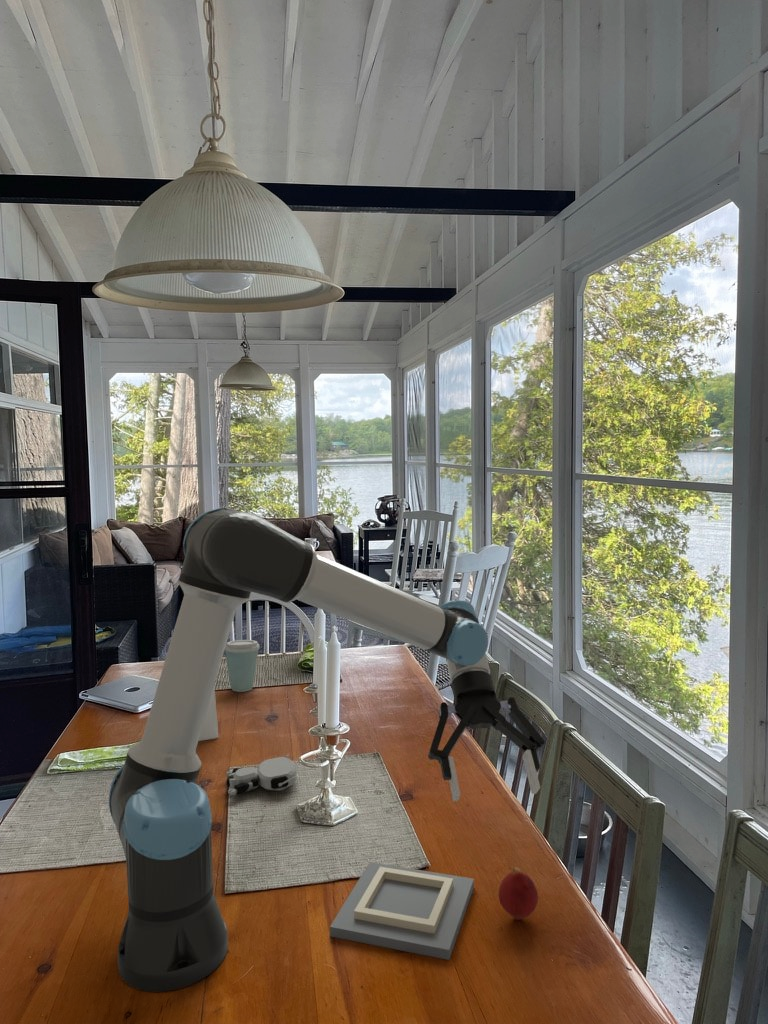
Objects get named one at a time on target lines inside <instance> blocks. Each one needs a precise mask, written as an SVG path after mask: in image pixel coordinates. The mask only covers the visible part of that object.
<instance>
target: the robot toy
mask: <svg viewBox="0 0 768 1024" xmlns="http://www.w3.org/2000/svg"><path fill="white" fill-rule="evenodd" d="M290 756H291V754H286V755H284V756H278V757H274V758H268V759H265V760H263V761H262V762H261V763H259V765H258V767H257V768H256V767H255V766H249V767H234V768H233V769H228V770H227V771H226V772H225V775H226V776H227V777H228V778H227V779H226V782H225V784H226V786H227V787H228V788H229V789H228V791H227V793H228V794H229V795H230V796H234V795H237V796H239V795H241V794H244V793H247V792H246V791H248V792H249V791H251V790H252V791H253V790H256V789H257V788H258V787H259V786H261V787H262V788H264V789H265V790H268V791H277V792H280V791H284V790H285V789H286V788H289V787H291V786H292V785H293V784H294V783H295V781H296V779H297V778H298V776H297V765H296V763H295V762H294V761H293V760H291V759H290V758H289V757H290Z"/></svg>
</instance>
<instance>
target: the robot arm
mask: <svg viewBox="0 0 768 1024" xmlns="http://www.w3.org/2000/svg"><path fill="white" fill-rule="evenodd" d="M182 544H183V545H182V546H183V554H184V559H183V563H182V567H181V570H180V574H179V577H178V580H177V582H178V584H179V587H180V588H181V590H182V593H183V597H182V598H183V599H182V601H181V605H180V609H179V611H178V615H177V617H176V622H175V625H174V629H173V632H172V634H171V639H170V642H169V645H168V649H167V652H166V656H165V659H164V663H163V666H162V668H161V669H162V670H161V673H160V675H159V679H158V684H157V686H156V691H155V693H154V697H153V700H152V704H151V708H150V711H149V714H148V717H147V721H146V723H145V727H144V731H143V735H142V738H141V740H140V741H138V742H137V743H134V744H132V745H131V746H130V747H129V748H128V751H127V754H126V756H125V761H124V764H122V766H121V767H120V768H118V771H116V773H115V774H114V777H113V779H112V780H111V784H110V789H109V795H108V806H109V807H108V808H109V812H110V815H111V819H112V821H113V822H114V823H113V824H114V825H115V829H116V830H117V833H118V836H119V840H120V843H121V846H122V850H123V852H124V857H125V862H126V863H125V864H126V877H127V878H126V879H127V897H128V898H127V899H128V900H127V901H128V912H127V915H126V918H125V922H124V926H123V928H122V929H123V930H122V934H121V936H120V940H119V943H118V947H117V970H118V973H119V975H120V978H121V979H122V981H123V982H125V984H127V985H129V986H130V987H132V988H135V989H137V990H140V991H144V992H169V991H174V990H177V989H178V990H179V989H182V988H185V987H188V986H191V985H192V984H195V983H197V982H200V981H201V980H203V979H204V978H206V977H208V976H209V975H210V974H211V973H213V972H214V971H215V970H217V968H218V967H219V966H220V965H221V964H222V962H223V960H224V959H225V957H226V955H227V952H228V948H229V942H228V941H229V939H228V938H229V936H228V927H227V923H226V922H225V919H224V918H223V916H222V913H221V910H220V908H219V904H218V902H217V900H216V897H215V894H214V870H213V867H214V865H213V844H212V843H213V841H212V824H213V813H212V808H211V805H210V800H209V796H208V795H207V792H206V790H204V789H203V788H202V787H201V786H200V785H198V784H197V781H198V778H199V775H200V772H201V768H202V761H201V759H200V758H199V755H198V754H197V751H196V750H197V747H198V744H199V741H198V740H199V737H200V733H201V730H202V726H203V723H204V719H205V716H206V713H207V709H208V706H209V702H210V699H211V695H212V692H213V688H214V687H215V684H216V681H217V678H218V674H219V671H220V667H221V663H222V661H223V657H224V653H225V647H226V644H227V643H228V638H229V635H230V632H231V628H232V625H233V622H234V618H235V615H236V611H237V608H238V607H240V606H241V605H243V604H244V603H246V602H248V601H249V600H250V596H251V593H255V594H259V595H262V596H267V597H270V598H273V599H274V600H275V599H276V600H279V601H281V602H283V603H287V604H289V603H293V602H294V601H296V600H298V601H299V602H302V603H304V604H306V605H310V606H312V607H315V608H317V609H320V610H322V611H324V612H327V613H329V614H332V615H335V616H338V617H341V618H343V619H345V620H348V621H351V622H353V623H355V624H358V625H360V626H363V627H365V628H369V629H371V630H373V631H376V632H378V633H381V634H384V635H386V636H387V637H388V638H389V639H391V640H395V641H398V642H400V643H403V644H404V643H406V644H409V645H411V646H414V647H417V648H418V649H422V650H424V651H426V652H428V653H431V654H433V655H436V656H439V657H441V658H443V659H445V660H446V665H447V670H448V675H449V680H450V682H451V683H450V685H451V689H452V694H453V699H454V704H448V702H444V701H443V702H441V704H440V705H439V709H438V723H437V727H436V729H435V732H434V736H433V738H432V742H431V745H430V747H429V752H428V755H427V758H428V759H429V760H431V761H432V760H436V761H437V762H438V764H439V765H440V768H441V774H442V779H443V781H449V787H450V792H451V797H452V802H458V801H459V799H460V797H461V791H460V787H459V779H458V775H457V771H456V764H455V760H454V756H450V754H451V753H452V751H453V750H454V748H455V746H456V745H457V743H458V741H459V740H460V738H461V736H462V735H463V734H464V732H465V731H466V729H467V728H470V729H471V730H477V729H489V728H493V729H495V730H496V731H498V732H500V733H501V734H502V735H504V736H505V737H506V738H507V739H509V741H510V742H512V743H513V744H514V745H516V746H517V747H518V748H519V749H521V750H522V751H523V752H524V753H523V755H522V759H523V764H524V767H525V771H526V775H527V779H528V783H529V788H530V791H531V794H532V795H535V794H537V793H538V791H540V789H541V784H540V781H539V777H538V772H539V770H540V769H541V768H540V767H541V765H540V760H539V757H538V753H537V751H541V749H542V747H543V746H544V744H545V739H544V738H543V737H542V736H541V734H540V733H539V732H538V731H537V730H536V728H535V727H534V726H533V724H532V722H531V723H530V721H529V720H528V719H527V717H526V716H525V714H524V713H523V712H522V711H521V710H520V709H519V707H518V704H517V701H516V699H515V698H514V697H512V696H510V697H509V698H508V699H507V700H501V701H499V699H498V698H497V694H496V690H495V689H496V688H495V686H494V682H493V677H492V675H491V670H490V669H491V668H490V665H489V661H488V657H487V654H486V652H487V651H488V650H487V649H488V646H489V636H488V633H487V631H486V629H485V627H484V626H483V625H482V624H480V622H479V619H478V616H477V613H476V611H475V608H474V606H473V604H472V603H470V602H469V601H467V600H464V599H458V600H455V599H454V600H449V601H446V602H445V603H442V604H441V605H440V606H437V605H435V604H432V603H431V602H428V601H426V600H423V599H421V598H419V597H416V596H414V595H412V594H410V593H407V592H405V591H403V590H400V589H398V588H396V587H393V586H392V585H389V584H387V583H384V582H382V581H379V580H378V579H376V578H373V577H371V576H368V575H367V574H364V573H362V572H359V571H357V570H354V569H353V568H350V567H348V566H346V565H343V564H341V563H339V562H336V561H334V560H331V559H329V558H327V557H325V556H322V555H320V554H318V553H316V551H315V547H314V546H313V544H311V543H310V542H307V541H304V540H302V539H301V538H299V537H296V536H295V535H293V534H291V533H289V532H287V531H285V530H283V529H282V528H280V527H279V526H277V525H275V524H274V523H272V522H271V521H269V520H267V519H265V518H263V517H262V516H260V515H257V514H254V513H252V512H251V513H250V512H245V511H240V510H237V509H235V508H229V507H220V508H215V509H211V510H207V511H205V512H202V513H201V514H200V515H198V516H197V517H195V519H193V521H191V522H190V524H189V526H188V528H187V529H186V530H185V534H184V537H183V542H182ZM500 710H503V712H504V713H505V714H507V715H508V716H509V718H510V720H512V722H513V723H514V724H515V726H516V727H517V728H516V727H515V726H514V725H513V724H512V723H510V722H509V721H508V720H507V719H506V717H505V715H503V714H502V713H500ZM453 713H454V715H455V716H456V717H458V719H459V720H460V721H459V723H458V725H457V726H456V728H455V729H454V731H453V732H452V734H451V736H450V737H449V739H448V741H447V742H446V744H445V745H444V747H443V748H442V749H439V746H440V743H441V740H442V736H443V733H444V730H445V728H446V724H447V722H448V719H450V718H451V716H452V714H453Z"/></svg>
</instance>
